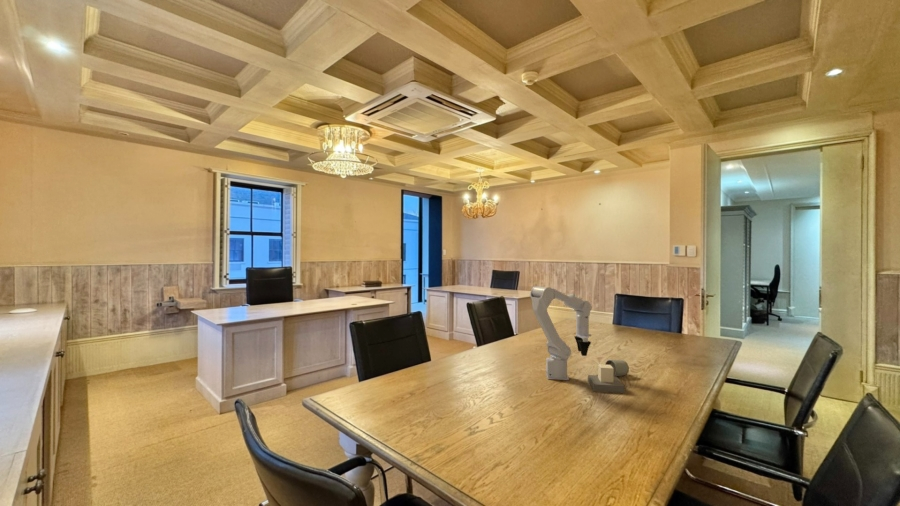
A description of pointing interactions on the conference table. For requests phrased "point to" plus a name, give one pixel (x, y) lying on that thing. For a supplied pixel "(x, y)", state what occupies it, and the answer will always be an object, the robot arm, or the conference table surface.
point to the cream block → (605, 373)
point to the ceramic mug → (618, 367)
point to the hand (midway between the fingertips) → (582, 353)
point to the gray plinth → (606, 385)
